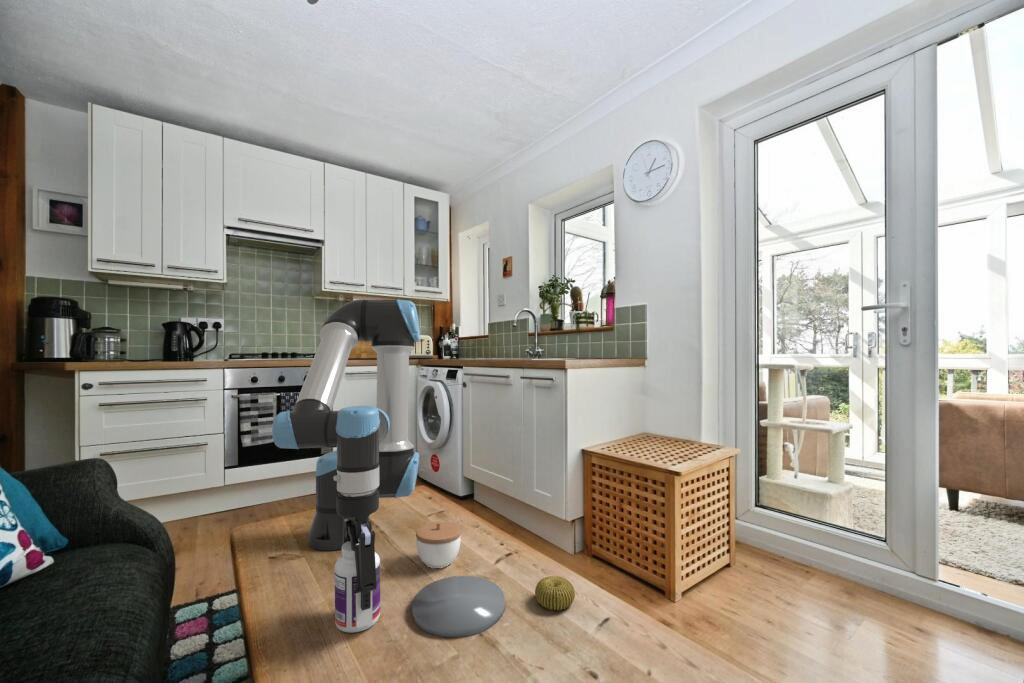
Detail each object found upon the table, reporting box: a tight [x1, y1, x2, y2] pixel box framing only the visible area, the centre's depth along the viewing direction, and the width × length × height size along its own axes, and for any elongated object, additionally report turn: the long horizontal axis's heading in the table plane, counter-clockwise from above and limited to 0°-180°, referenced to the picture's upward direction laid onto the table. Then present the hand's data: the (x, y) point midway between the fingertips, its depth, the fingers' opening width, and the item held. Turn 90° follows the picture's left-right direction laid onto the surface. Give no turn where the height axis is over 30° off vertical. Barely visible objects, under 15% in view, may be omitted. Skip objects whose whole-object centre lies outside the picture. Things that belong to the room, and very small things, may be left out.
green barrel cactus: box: [534, 575, 576, 611], centre depth 88 cm, size 8×4×8 cm
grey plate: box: [411, 575, 506, 638], centre depth 86 cm, size 18×18×2 cm
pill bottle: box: [334, 541, 381, 633], centre depth 82 cm, size 8×8×14 cm
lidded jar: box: [415, 520, 462, 569], centre depth 104 cm, size 11×11×9 cm
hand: (357, 612), depth 82 cm, fingers closed on pill bottle, 8 cm apart
